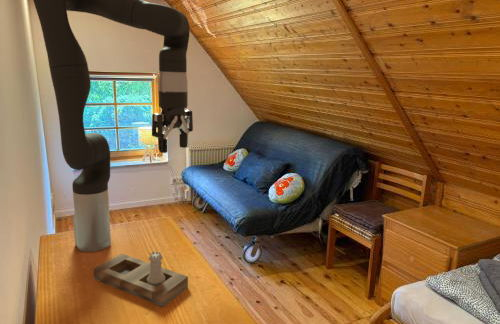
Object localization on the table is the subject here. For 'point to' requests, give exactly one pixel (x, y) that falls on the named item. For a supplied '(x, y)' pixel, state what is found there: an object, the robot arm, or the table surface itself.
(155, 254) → the rook chess piece
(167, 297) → the slot rail
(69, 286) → the table surface
